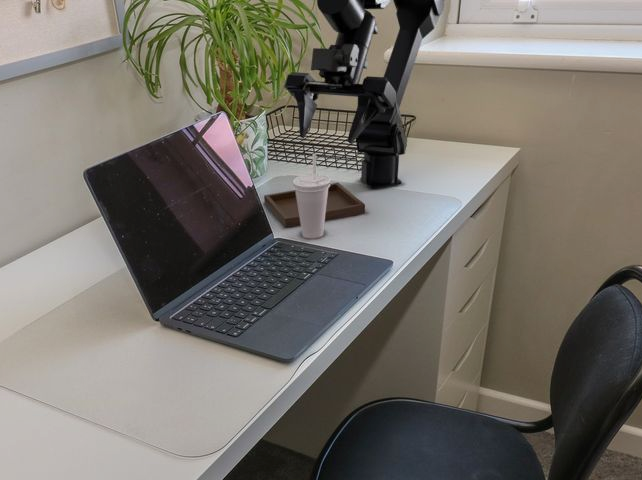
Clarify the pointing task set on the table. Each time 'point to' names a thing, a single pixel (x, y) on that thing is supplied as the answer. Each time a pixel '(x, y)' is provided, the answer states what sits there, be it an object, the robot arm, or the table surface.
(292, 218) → the tray
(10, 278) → the table surface
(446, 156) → the table surface
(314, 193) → the smoothie
